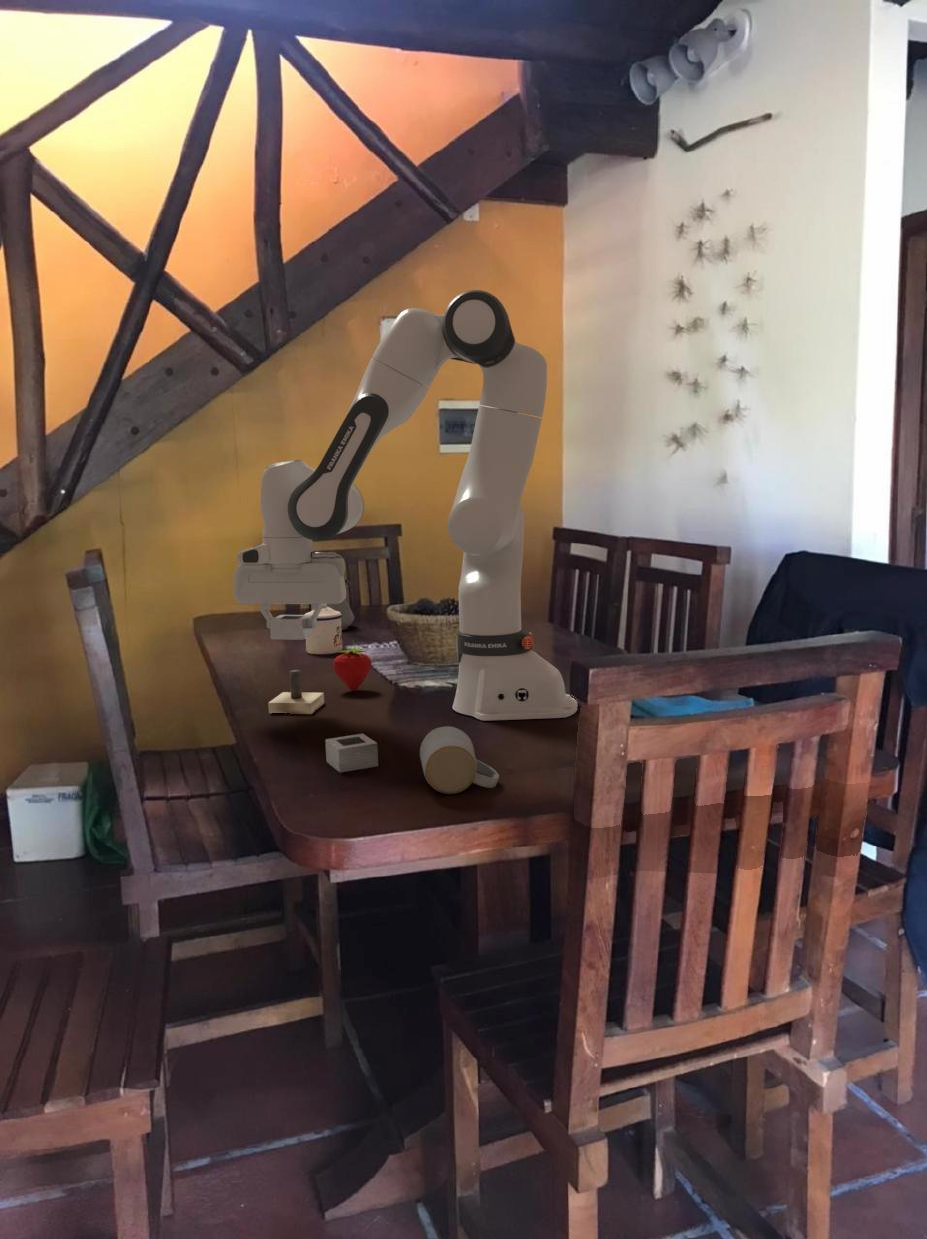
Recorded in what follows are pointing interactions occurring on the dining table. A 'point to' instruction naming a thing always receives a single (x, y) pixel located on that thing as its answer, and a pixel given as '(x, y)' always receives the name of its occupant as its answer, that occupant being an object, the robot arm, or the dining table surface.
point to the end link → (290, 627)
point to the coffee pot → (343, 612)
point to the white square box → (351, 752)
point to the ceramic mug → (453, 762)
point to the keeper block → (296, 698)
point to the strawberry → (352, 667)
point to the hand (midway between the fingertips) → (291, 628)
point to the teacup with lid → (325, 632)
